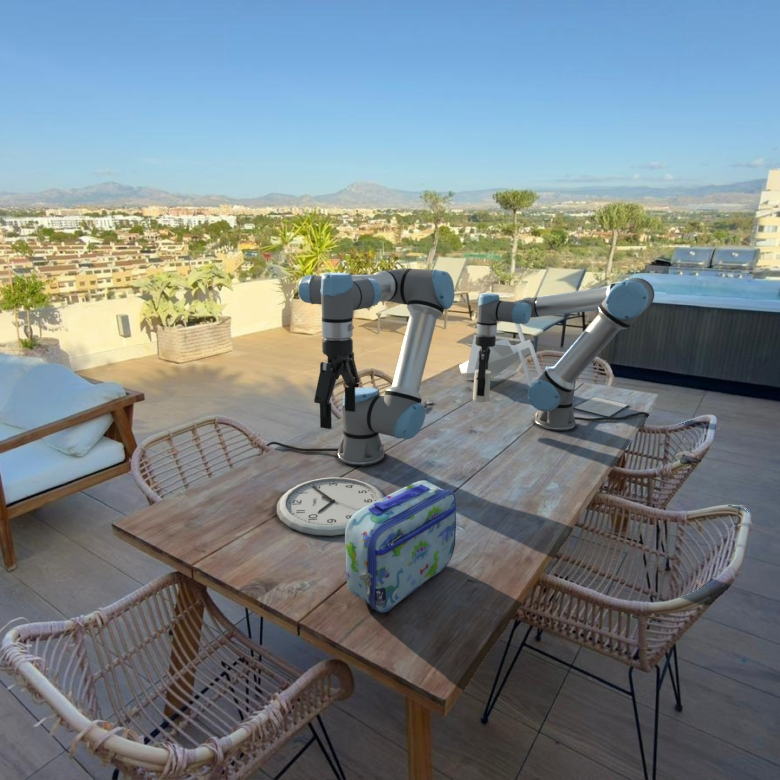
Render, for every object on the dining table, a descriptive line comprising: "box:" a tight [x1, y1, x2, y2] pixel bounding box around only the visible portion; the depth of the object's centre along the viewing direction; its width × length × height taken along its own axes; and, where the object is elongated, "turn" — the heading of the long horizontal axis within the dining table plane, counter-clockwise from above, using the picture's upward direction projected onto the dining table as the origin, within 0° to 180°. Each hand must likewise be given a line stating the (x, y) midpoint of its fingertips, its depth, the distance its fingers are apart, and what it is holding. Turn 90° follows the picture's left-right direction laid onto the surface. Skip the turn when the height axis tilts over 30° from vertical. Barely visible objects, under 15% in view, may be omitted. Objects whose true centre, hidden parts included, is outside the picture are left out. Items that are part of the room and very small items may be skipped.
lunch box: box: [344, 480, 457, 614], centre depth 109 cm, size 26×11×21 cm, turn 135°
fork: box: [423, 396, 435, 409], centre depth 223 cm, size 3×16×2 cm, turn 160°
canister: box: [472, 369, 492, 403], centre depth 204 cm, size 6×6×12 cm
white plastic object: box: [458, 323, 543, 387], centre depth 255 cm, size 37×45×31 cm
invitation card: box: [573, 396, 629, 417], centre depth 226 cm, size 21×1×15 cm
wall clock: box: [276, 476, 386, 537], centre depth 142 cm, size 30×2×30 cm
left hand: (338, 419), depth 134 cm, fingers open, 13 cm apart
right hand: (481, 392), depth 205 cm, fingers closed on canister, 6 cm apart
